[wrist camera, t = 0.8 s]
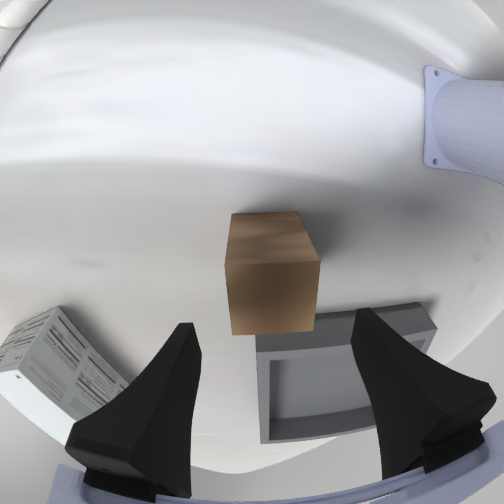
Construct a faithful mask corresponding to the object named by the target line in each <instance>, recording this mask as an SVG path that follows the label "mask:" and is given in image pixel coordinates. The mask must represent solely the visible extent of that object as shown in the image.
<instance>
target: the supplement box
mask: <svg viewBox="0 0 504 504" xmlns="http://www.w3.org/2000/svg"><path fill="white" fill-rule="evenodd" d="M129 385H130V384H129V383H128V382H127V381H126V380H125V379H124V378H123V377H122V376H121V375H120V374H119V373H118V372H116V371H115V370H114V369H113V368H112V367H111V366H110V364H109V363H108V362H107V361H106V360H105V359H104V358H103V357H102V356H101V355H100V354H99V353H98V352H97V351H96V350H95V349H94V348H93V347H92V346H91V344H90V343H89V342H88V341H87V340H86V339H85V338H84V337H83V335H82V334H81V333H80V332H79V331H78V330H77V328H76V327H75V326H74V325H73V324H72V323H71V321H70V320H69V319H68V318H67V316H66V315H65V314H64V313H63V311H62V310H61V309H60V307H57V308H55V309H53V310H51V311H48V312H46V313H44V314H42V315H40V316H37V317H35V318H33V319H31V320H29V321H27V322H25V323H23V324H20V325H18V326H16V327H14V328H13V330H12V331H11V332H10V334H9V335H8V336H7V338H6V339H5V341H4V342H3V344H2V345H1V347H0V393H1V395H2V396H4V397H5V398H6V399H7V400H8V401H9V402H10V403H11V404H12V405H13V406H14V407H15V408H17V409H18V410H19V411H20V412H21V413H22V414H24V415H25V416H26V417H27V418H28V419H30V420H31V421H32V422H33V423H34V424H36V425H37V426H38V427H40V428H41V429H42V430H44V431H45V432H46V433H48V434H49V435H50V436H52V437H53V438H55V439H56V440H57V441H59V442H60V443H62V444H63V445H66V442H67V439H68V436H69V433H70V431H71V428H72V426H73V424H74V423H75V422H77V421H79V420H81V419H83V418H84V417H86V416H88V415H90V414H92V413H93V412H95V411H96V410H98V409H100V408H101V407H103V406H104V405H105V404H107V403H108V402H110V401H111V400H112V399H113V398H115V397H116V396H117V395H118V394H120V393H121V392H122V391H123V390H124V389H125V388H126V387H128V386H129Z"/></svg>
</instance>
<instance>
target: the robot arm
mask: <svg viewBox="0 0 504 504" xmlns="http://www.w3.org/2000/svg"><path fill="white" fill-rule="evenodd" d="M434 71H435V72H436V75H435V74H434ZM424 78H425V141H424V156H423V162H424V164H425V165H426V166H428V167H433V168H440V169H447V170H454V171H461V172H467V173H473V174H479V175H482V176H484V177H487V178H489V179H491V180H493V181H496V182H498V183H500V184H502V185H504V81H495V80H468V79H466V78H464V77H461V76H459V75H456V74H453V73H451V72H448V71H445V70H442V69H440V68H437V67H434V66H430V65H428V66H425V68H424ZM434 158H435V163H434V164H433V159H434ZM350 343H351V347H352V351H353V355H354V359H355V362H356V365H357V367H358V370H359V372H360V375H361V378H362V380H363V383H364V385H365V388H366V391H367V393H368V396H369V399H370V402H371V405H372V409H373V413H374V418H375V422H376V428H377V433H378V439H379V446H380V454H381V464H382V481H379V482H375V483H372V484H368V485H364V486H361V487H357V488H352V489H348V490H344V491H339V492H334V493H329V494H323V495H317V496H311V497H303V498H296V499H286V500H274V501H273V500H272V501H248V502H247V501H246V502H245V501H244V502H238V501H236V502H235V501H234V502H233V501H232V502H231V501H208V500H196V499H189V498H190V497H191V496H192V494H191V474H190V451H191V428H192V417H193V411H194V406H195V400H196V395H197V390H198V385H199V379H200V374H201V359H202V353H201V350H200V346H199V343H198V339H197V335H196V332H195V328H194V325H193V323H179V324H178V325H177V327H176V328H175V330H174V331H173V333H172V334H171V335H170V337H169V338H168V340H167V341H166V342H165V344H164V345H163V347H162V348H161V349H160V351H159V352H158V353H157V354H156V356H155V357H154V358H153V360H152V361H151V362H150V363H149V364H148V365H147V367H146V368H145V369H144V370H143V371H142V372H141V373H140V375H139V376H138V377H137V378H136V379H135V380H134V381H133V382H132V383H131V384H130V385H129V386H128V387H126V388H125V389H124V390H123V391H122V392H121V393H120V394H118V395H117V396H116V397H115V398H113V399H112V400H111V401H110V402H108V403H107V404H105V405H104V406H103V407H101V408H100V409H98V410H96V411H95V412H93V413H92V414H90V415H88V416H86V417H84V418H83V419H81V420H79V421H77V422H75V423H74V424H73V426H72V428H71V431H70V433H69V436H68V439H67V442H66V445H65V450H66V452H67V453H68V454H69V455H70V456H71V457H73V458H74V459H75V460H77V461H78V462H80V463H81V464H82V465H84V466H85V467H86V468H87V469H86V473H84V472H82V471H80V470H78V469H75V468H72V467H70V466H67V465H65V464H62V463H58V466H57V469H56V473H55V476H54V479H53V483H52V486H51V490H50V494H49V497H48V501H47V504H358V503H361V502H365V501H369V500H372V499H376V498H379V497H382V496H385V495H389V494H391V495H389V496H386V497H384V498H381V499H378V500H375V501H373V502H371V503H370V504H458V503H460V502H461V501H463V500H464V499H466V498H468V497H469V496H471V495H472V494H474V493H475V492H477V491H478V490H480V489H481V488H483V487H484V486H485V485H487V484H488V483H490V482H491V481H493V480H494V479H495V478H497V477H498V476H499V475H501V474H502V473H503V472H504V421H503V420H501V421H500V422H498V423H497V424H495V425H494V426H492V427H490V428H489V429H487V430H486V431H485V432H483V433H481V431H480V429H481V428H482V426H483V425H482V423H481V421H480V420H481V419H482V418H483V417H484V416H485V415H486V414H487V413H488V412H489V410H490V409H491V408H492V407H493V405H494V404H495V402H496V399H497V398H496V395H495V394H494V392H493V390H492V389H491V387H490V385H489V383H487V382H483V381H480V380H476V379H474V378H470V377H468V376H465V375H463V374H461V373H458V372H456V371H454V370H452V369H450V368H448V367H446V366H444V365H442V364H440V363H439V362H437V361H435V360H433V359H432V358H430V357H429V356H427V355H426V354H424V353H423V352H421V351H420V350H418V349H417V348H416V347H414V346H413V345H412V344H410V343H409V342H408V341H407V340H405V339H404V338H403V337H402V336H401V335H399V334H398V333H397V332H396V331H395V330H394V329H392V328H391V327H390V326H389V325H388V324H387V323H386V322H385V321H383V320H382V319H381V318H380V317H379V316H378V315H377V314H376V313H375V312H374V311H372V310H371V309H370V308H363V309H357V311H356V316H355V321H354V326H353V331H352V336H351V340H350ZM394 492H395V493H394ZM392 493H394V494H392Z"/></svg>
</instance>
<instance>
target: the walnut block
mask: <svg viewBox="0 0 504 504" xmlns="http://www.w3.org/2000/svg"><path fill="white" fill-rule="evenodd" d="M319 272H320V259H319V256H318V254H317V252H316V250H315V248H314V246H313V244H312V242H311V240H310V237H309V235H308V233H307V231H306V229H305V227H304V225H303V223H302V221H301V219H300V217H299V215H298V213H297V212H273V213H248V214H232V216H231V223H230V229H229V236H228V243H227V250H226V258H225V275H226V285H227V294H228V303H229V311H230V320H231V328H232V335H256V334H275V333H291V332H304V331H313V326H314V318H315V310H316V301H317V292H318V282H319Z"/></svg>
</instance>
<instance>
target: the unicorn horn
mask: <svg viewBox="0 0 504 504" xmlns="http://www.w3.org/2000/svg"><path fill="white" fill-rule="evenodd" d="M48 1H49V0H12V1H11V2H10V3H9V4H8V5H7V6H6V7H5V8H4V9H3V10H2V11H1V12H0V62H1V60H2V59H3V57H4V56H5V54H6V52H7V51H8V50H9V49H10V47H11V46H12V44H13V43H14V42H15V40H16V39H17V38H18V36H19V35H20V34H21V32H22V31H23V30H24V29H25V27H26V26H27V25H28V23H29V22H30V21H31V20H32V19H33V18H34V17H35V15H36V14H37V13H38V12H39V11H40V10H41V9H42V7H43V6H44V5H45V4H46V3H47V2H48Z"/></svg>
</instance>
